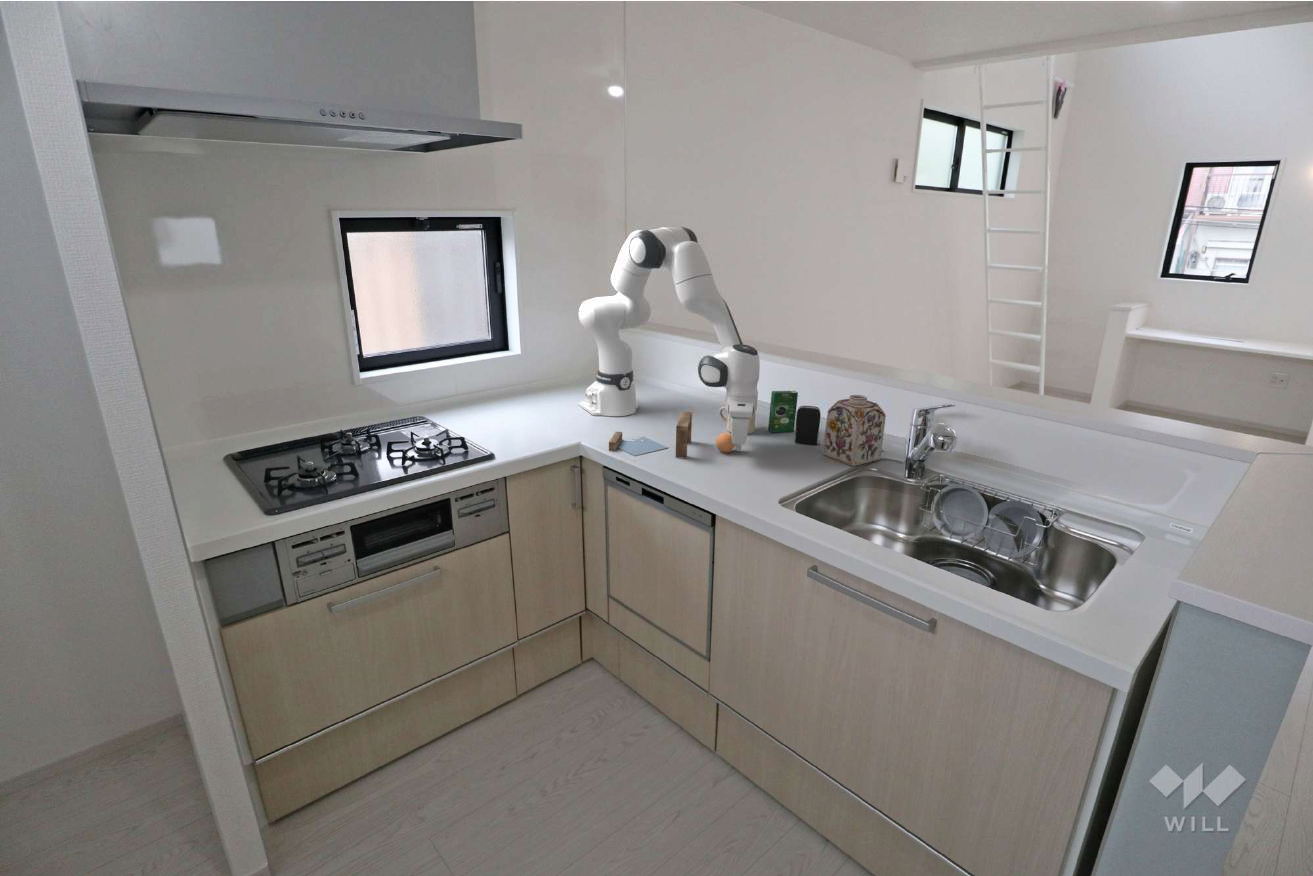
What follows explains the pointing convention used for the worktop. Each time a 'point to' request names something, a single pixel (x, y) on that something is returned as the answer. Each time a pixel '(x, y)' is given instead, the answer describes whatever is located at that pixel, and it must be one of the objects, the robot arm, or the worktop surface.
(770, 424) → the coffee box
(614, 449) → the stopper
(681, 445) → the bridge
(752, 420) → the teacup with lid
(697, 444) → the worktop surface
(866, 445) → the decorative jar
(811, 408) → the battery charger
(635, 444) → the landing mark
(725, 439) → the ball
